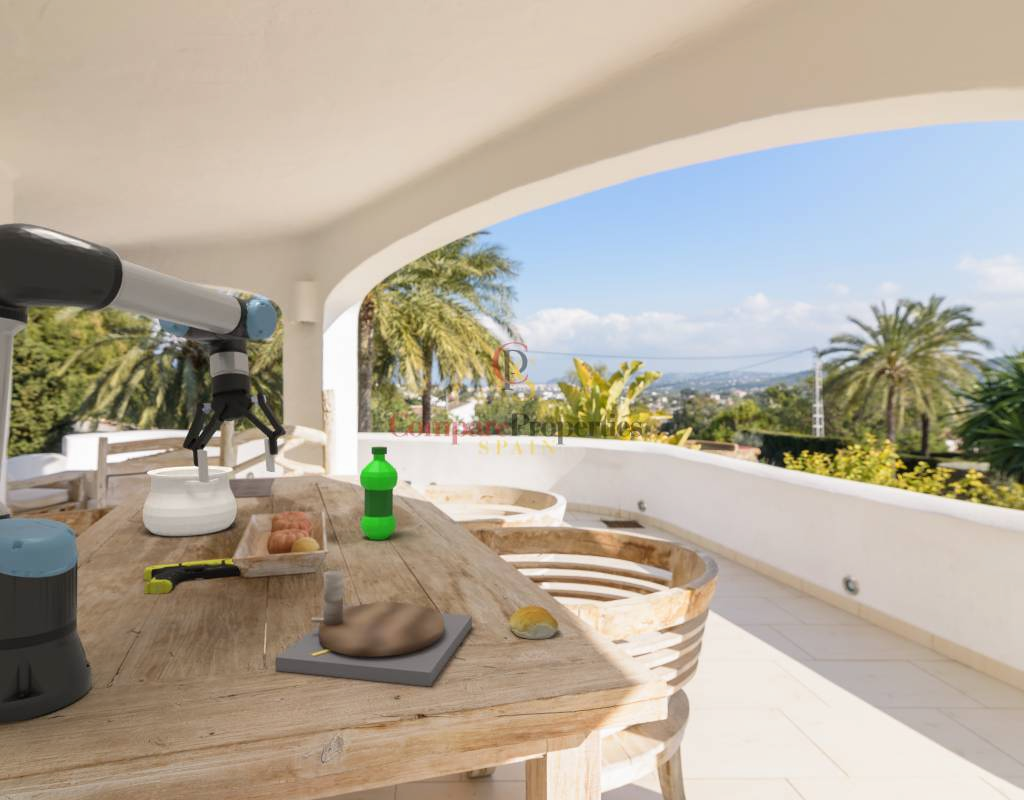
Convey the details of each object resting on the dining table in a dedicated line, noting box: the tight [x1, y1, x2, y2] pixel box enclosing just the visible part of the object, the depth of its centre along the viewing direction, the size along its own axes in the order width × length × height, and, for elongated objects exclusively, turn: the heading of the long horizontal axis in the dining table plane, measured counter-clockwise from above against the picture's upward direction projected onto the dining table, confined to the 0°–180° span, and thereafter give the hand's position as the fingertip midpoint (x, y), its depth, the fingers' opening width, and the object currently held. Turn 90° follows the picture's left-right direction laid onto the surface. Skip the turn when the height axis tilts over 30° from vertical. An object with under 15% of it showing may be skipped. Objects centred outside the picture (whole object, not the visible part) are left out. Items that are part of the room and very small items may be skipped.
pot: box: [142, 465, 238, 537], centre depth 193 cm, size 26×24×17 cm
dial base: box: [275, 604, 473, 687], centre depth 109 cm, size 24×24×2 cm
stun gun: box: [143, 557, 241, 595], centre depth 144 cm, size 3×19×15 cm
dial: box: [310, 570, 444, 657], centre depth 109 cm, size 22×20×10 cm
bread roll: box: [508, 605, 559, 640], centre depth 118 cm, size 8×9×4 cm
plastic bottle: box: [359, 446, 398, 541], centre depth 186 cm, size 10×10×25 cm
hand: (237, 476), depth 137 cm, fingers open, 13 cm apart
